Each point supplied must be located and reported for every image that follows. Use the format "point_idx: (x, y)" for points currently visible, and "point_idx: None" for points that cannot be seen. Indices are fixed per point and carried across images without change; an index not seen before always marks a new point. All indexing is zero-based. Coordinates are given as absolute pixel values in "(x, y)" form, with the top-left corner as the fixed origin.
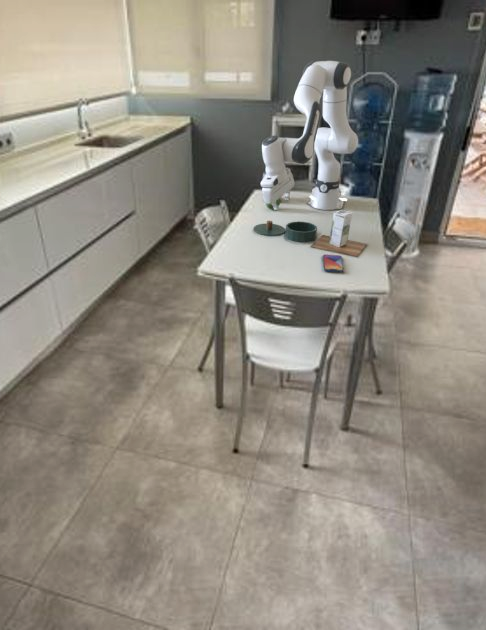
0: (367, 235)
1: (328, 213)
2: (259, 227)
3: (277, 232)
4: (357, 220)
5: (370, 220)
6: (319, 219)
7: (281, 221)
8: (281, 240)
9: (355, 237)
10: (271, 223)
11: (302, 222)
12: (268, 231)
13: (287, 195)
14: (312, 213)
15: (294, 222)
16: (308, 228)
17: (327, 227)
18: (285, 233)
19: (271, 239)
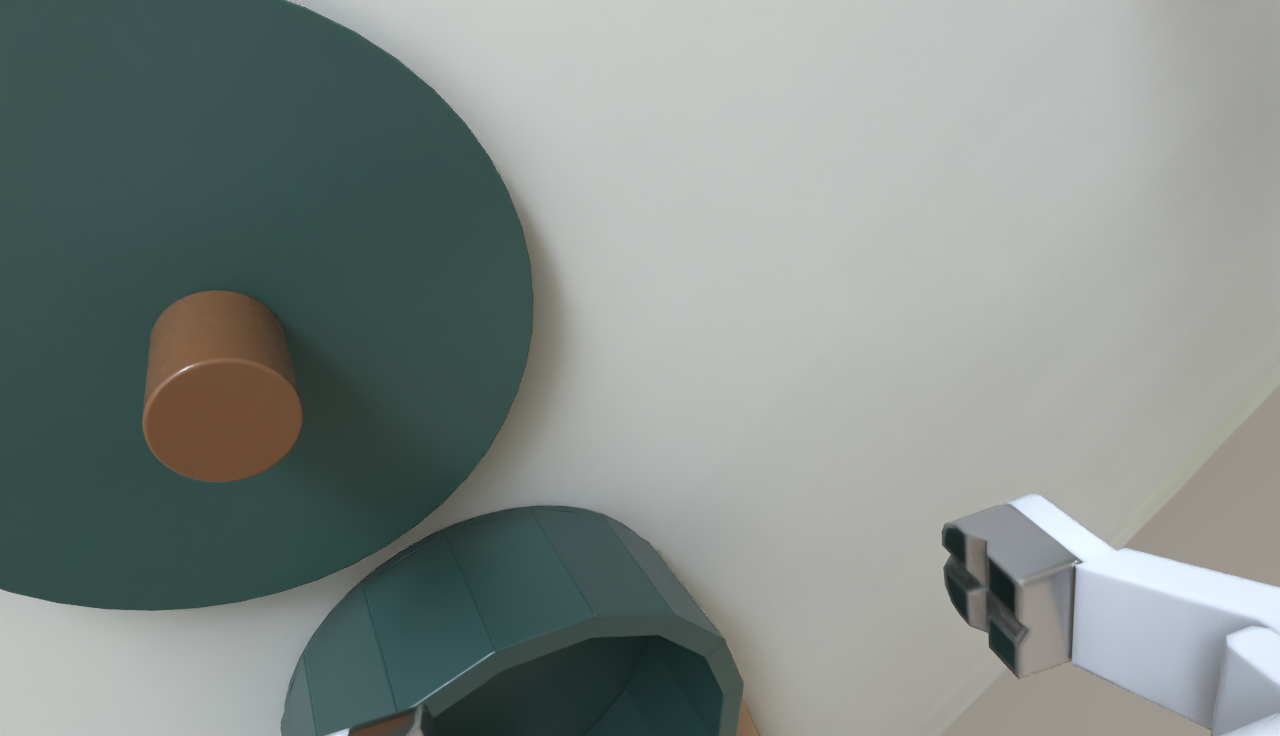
0: (946, 694)
1: (1237, 164)
2: (25, 160)
3: (268, 538)
4: (1163, 431)
5: (1191, 464)
6: (1066, 263)
7: (752, 27)
8: (187, 703)
9: (870, 716)
10: (236, 468)
11: (693, 648)
12: (116, 450)
13: (1102, 638)
14: (1193, 53)
15: (600, 637)
16: (684, 647)
17: (925, 483)
18: (347, 639)
19: (24, 649)
